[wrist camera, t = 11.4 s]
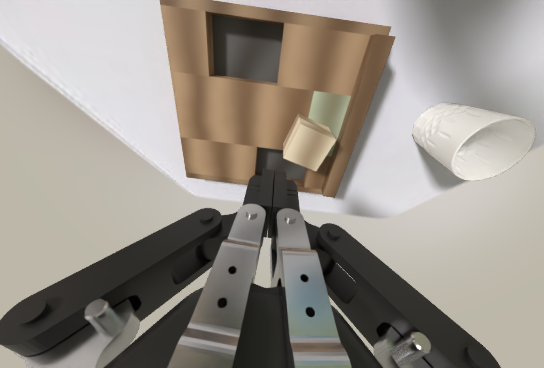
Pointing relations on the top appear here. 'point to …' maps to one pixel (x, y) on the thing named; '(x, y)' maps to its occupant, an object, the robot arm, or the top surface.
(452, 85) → the top surface
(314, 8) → the top surface
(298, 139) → the birch block
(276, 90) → the box
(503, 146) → the white cup
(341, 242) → the robot arm
